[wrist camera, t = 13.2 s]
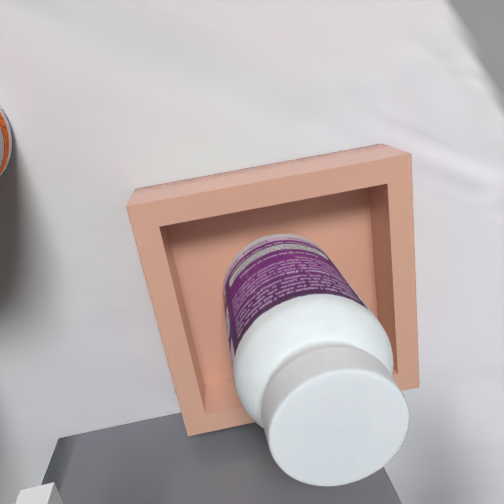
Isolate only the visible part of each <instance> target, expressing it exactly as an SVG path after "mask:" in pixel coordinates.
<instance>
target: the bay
mask: <svg viewBox="0 0 504 504" xmlns="http://www.w3.org/2000/svg"><path fill="white" fill-rule="evenodd" d="M53 482H54V483H55V486H56V488H57V490H58V493H59V495H60V497H61V500H62V502H63V504H402V503H401V501H400V499H399V497H398V495H397V493H396V491H395V489H394V487H393V485H392V483H391V481H390V479H389V477H388V475H387V473H386V471H385V469H384V467H382V468H381V469H380V470H378V471H376V472H374V473H373V474H371V475H369V476H367V477H365V478H363V479H361V480H358V481H355V482H352V483H348V484H345V485H339V486H315V485H310V484H306V483H303V482H300V481H298V480H296V479H294V478H292V477H290V476H289V475H287V474H286V473H285V472H284V471H283V470H282V469H281V468H280V467H279V466H278V464H277V463H276V462H275V460H274V459H273V457H272V454H271V452H270V450H269V446H268V443H267V439H266V435H265V431H264V428H262V427H261V426H260V425H258V424H257V423H256V422H253V423H249V424H244V425H239V426H235V427H230V428H225V429H221V430H216V431H211V432H207V433H202V434H197V435H192V436H188V435H187V431H186V428H185V424H184V420H183V416H182V413H178V414H173V415H168V416H163V417H159V418H154V419H149V420H144V421H140V422H135V423H130V424H125V425H121V426H116V427H111V428H106V429H102V430H97V431H92V432H88V433H83V434H78V435H73V436H69V437H64V438H59V439H58V442H57V445H56V447H55V450H54V453H53V455H52V458H51V461H50V463H49V466H48V469H47V471H46V474H45V476H44V479H43V482H42V484H41V485H45V484H49V483H53Z"/></svg>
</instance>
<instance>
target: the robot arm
mask: <svg viewBox="0 0 504 504" xmlns="http://www.w3.org/2000/svg"><path fill="white" fill-rule="evenodd" d="M15 504H63V502H62V500H61V497H60V495H59V493H58V490H57V488H56V486H55V483H54V482H53V483H49V484H45V485H40V486H36V487H32V488H28V489H23V490H20V493H19V495H18V498H17V500H16V503H15Z"/></svg>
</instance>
